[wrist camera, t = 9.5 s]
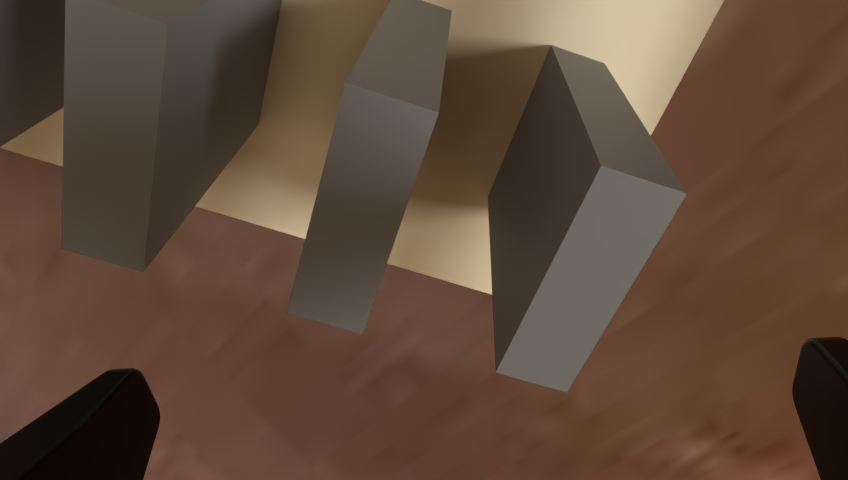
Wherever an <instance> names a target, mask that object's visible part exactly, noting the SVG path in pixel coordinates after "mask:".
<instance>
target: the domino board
mask: <svg viewBox="0 0 848 480" xmlns="http://www.w3.org/2000/svg"><path fill="white" fill-rule="evenodd" d="M422 1H425V2H428V3H431V4H434V5H437V6H440V7H443V8H445V9H448V10H451V11H452V13H451V21H450V29H449V37H448V45H447V53H446V61H445V69H444V77H443V85H442V93H441V100H440V108H439V114H438V117H437V120H436V123H435V126H434V129H433V131H432V134H431V137H430V140H429V143H428V146H427V149H426V152H425V155H424V158H423V161H422V163H421V166H420V169H419V172H418V175H417V178H416V181H415V184H414V187H413V190H412V193H411V195H410V198H409V201H408V204H407V207H406V210H405V213H404V216H403V219H402V222H401V224H400V227H399V230H398V233H397V236H396V239H395V242H394V245H393V248H392V251H391V254H390V256H389V259H388V262H387V263H388V264H391V265H394V266H398V267H401V268H405V269H408V270H411V271H415V272H418V273H421V274H425V275H428V276H431V277H435V278H438V279H441V280H445V281H448V282H452V283H455V284H458V285H462V286H465V287H468V288H472V289H475V290H478V291H482V292H485V293H488V294H492V279H491V258H490V236H489V215H488V195H489V193H490V190H491V188H492V185H493V183H494V181H495V178H496V176H497V173H498V171H499V169H500V166H501V164H502V162H503V159H504V157H505V154H506V152H507V150H508V147H509V145H510V142H511V140H512V138H513V135H514V133H515V130H516V128H517V126H518V123H519V121H520V118H521V116H522V114H523V111H524V109H525V106H526V104H527V102H528V99H529V97H530V94H531V92H532V90H533V87H534V85H535V83H536V80H537V78H538V75H539V73H540V71H541V68H542V66H543V63H544V61H545V59H546V56H547V54H548V51H549V49H550V47H551V45H553V46H556V47H559V48H562V49H565V50H567V51H570V52H573V53H576V54H579V55H582V56H585V57H588V58H591V59H594V60H596V61H599V62H602V63H605V65H606V66H607V68H608V69H609V71H610V73H611V74H612V76H613V77H614V79H615V81H616V82H617V84H618V85H619V87H620V88H621V90H622V92H623V93H624V95H625V96H626V98H627V99H628V101H629V103H630V104H631V106H632V107H633V109H634V111H635V112H636V114H637V115H638V117H639V118H640V120H641V122H642V123H643V125H644V126H645V128H646V130H647V131H648V133H649V134H650V136H651V134H652V132H653V131H654V129H655V127H656V125H657V123H658V121H659V119H660V118H661V116H662V114H663V112H664V110H665V108H666V107H667V105H668V103H669V101H670V99H671V97H672V95H673V94H674V92H675V90H676V88H677V86H678V84H679V82H680V81H681V79H682V77H683V75H684V73H685V71H686V70H687V68H688V66H689V64H690V62H691V60H692V58H693V57H694V55H695V53H696V51H697V49H698V47H699V45H700V44H701V42H702V40H703V38H704V36H705V34H706V32H707V31H708V29H709V27H710V25H711V23H712V21H713V20H714V18H715V16H716V14H717V12H718V10H719V8H720V7H721V5H722V3H723V1H724V0H422ZM389 2H390V0H282V3H281V8H280V13H279V19H278V24H277V29H276V35H275V40H274V45H273V51H272V56H271V61H270V67H269V72H268V77H267V83H266V88H265V93H264V98H263V104H262V109H261V114H260V120H259V125H258V126H257V128H256V129H255V130H254V131H253V133H252V134H251V135H250V137H249V138H248V139H247V140H246V142H245V143H244V144H243V145H242V147H241V148H240V149H239V151H238V152H237V153H236V154H235V156H234V157H233V158H232V160H231V161H230V162H229V163H228V165H227V166H226V167H225V168H224V170H223V171H222V172H221V174H220V175H219V176H218V177H217V179H216V180H215V181H214V183H213V184H212V185H211V186H210V188H209V189H208V190H207V191H206V193H205V194H204V195H203V197H202V198H201V199H200V200H199V202H198V203H197V204H196V205H195V206H196V207H200V208H203V209H206V210H210V211H213V212H216V213H220V214H223V215H227V216H230V217H233V218H237V219H240V220H243V221H247V222H250V223H253V224H257V225H260V226H263V227H267V228H270V229H274V230H277V231H280V232H284V233H287V234H290V235H294V236H297V237H300V238H304V239H305V238H306V235H307V231H308V227H309V223H310V219H311V215H312V211H313V207H314V203H315V199H316V195H317V191H318V188H319V184H320V180H321V176H322V172H323V168H324V164H325V160H326V156H327V152H328V148H329V144H330V141H331V137H332V133H333V129H334V125H335V121H336V117H337V113H338V109H339V105H340V101H341V97H342V94H343V90H344V86H345V82H346V80H347V78H348V77H349V75H350V73H351V71H352V69H353V67H354V66H355V64H356V62H357V60H358V58H359V57H360V55H361V53H362V51H363V49H364V47H365V46H366V44H367V42H368V40H369V38H370V37H371V35H372V33H373V31H374V29H375V27H376V26H377V24H378V22H379V20H380V18H381V17H382V15H383V13H384V11H385V9H386V7H387V6H388V4H389ZM63 120H64V107H63V108H62V109H60V110H59V111H57V112H55V113H54V114H52V115H51V116H49V117H47V118H46V119H44V120H43V121H41V122H39V123H38V124H36V125H35V126H33V127H31V128H30V129H28V130H27V131H25V132H23V133H22V134H20V135H19V136H17V137H15V138H14V139H12V140H10V141H9V142H7V143H6V144H4V145H2V146H1V147H0V148H2V149H5V150H8V151H12V152H15V153H18V154H22V155H25V156H28V157H32V158H35V159H38V160H42V161H45V162H49V163H52V164H55V165H59V166H62V167H63Z"/></svg>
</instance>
